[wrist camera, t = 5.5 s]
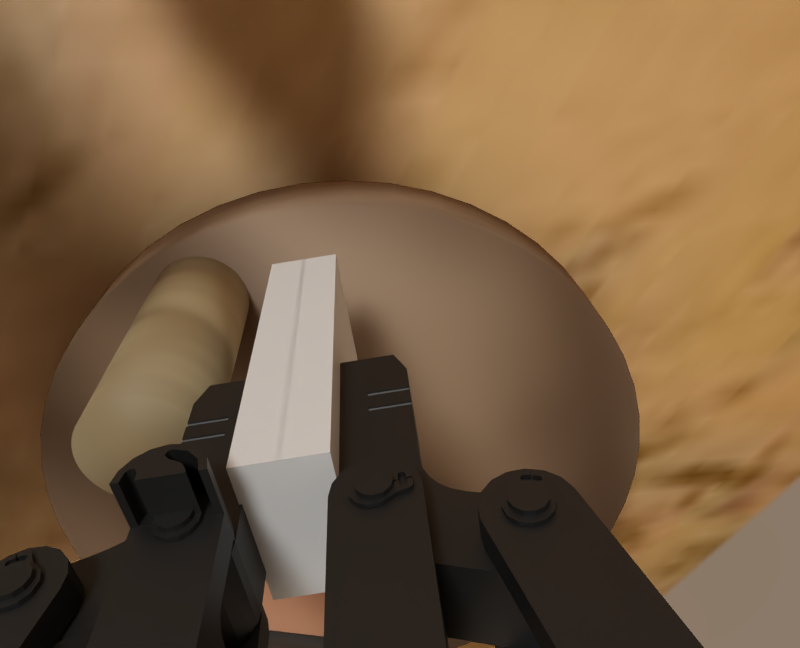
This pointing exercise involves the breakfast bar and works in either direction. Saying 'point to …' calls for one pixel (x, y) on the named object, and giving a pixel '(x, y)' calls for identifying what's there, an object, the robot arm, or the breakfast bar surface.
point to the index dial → (373, 337)
